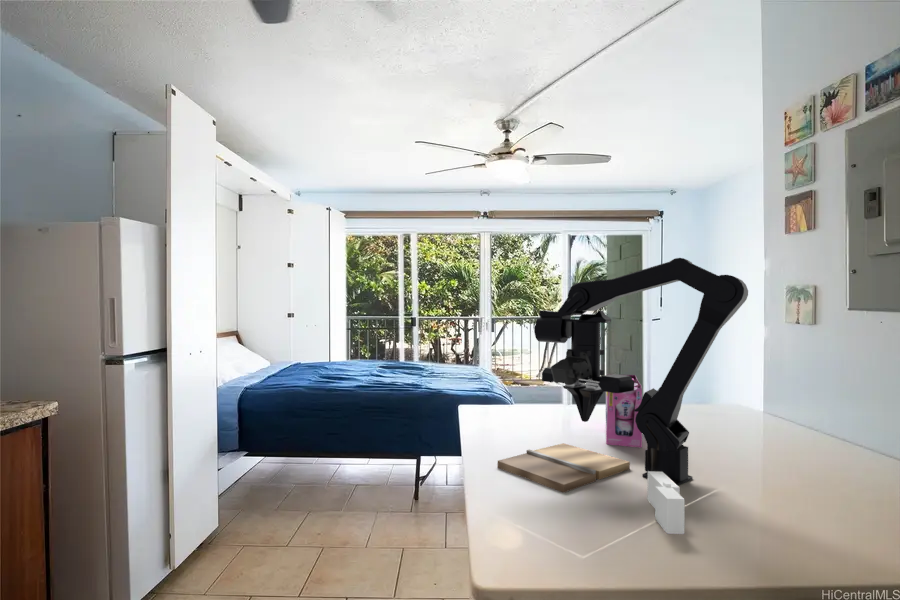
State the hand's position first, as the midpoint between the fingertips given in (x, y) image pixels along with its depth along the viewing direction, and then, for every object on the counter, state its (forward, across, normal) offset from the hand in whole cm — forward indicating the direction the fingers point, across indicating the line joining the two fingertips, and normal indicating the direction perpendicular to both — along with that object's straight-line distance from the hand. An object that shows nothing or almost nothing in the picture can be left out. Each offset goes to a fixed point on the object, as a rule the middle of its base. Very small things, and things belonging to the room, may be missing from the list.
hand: (584, 421), depth 100 cm
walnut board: (+8, 0, -12) cm, 15 cm away
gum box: (+9, -8, +26) cm, 28 cm away
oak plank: (+8, 0, -2) cm, 8 cm away
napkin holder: (+9, +23, -13) cm, 28 cm away
